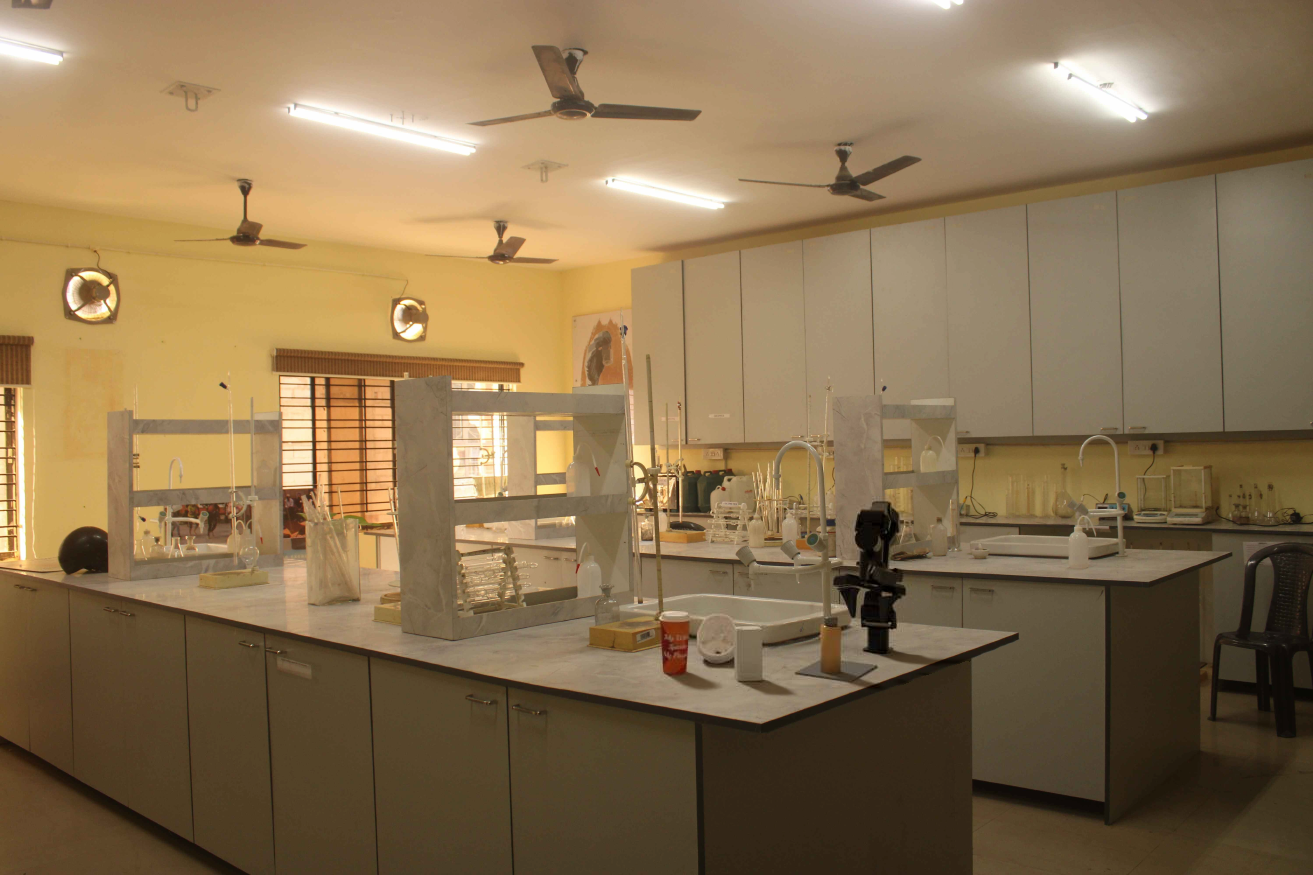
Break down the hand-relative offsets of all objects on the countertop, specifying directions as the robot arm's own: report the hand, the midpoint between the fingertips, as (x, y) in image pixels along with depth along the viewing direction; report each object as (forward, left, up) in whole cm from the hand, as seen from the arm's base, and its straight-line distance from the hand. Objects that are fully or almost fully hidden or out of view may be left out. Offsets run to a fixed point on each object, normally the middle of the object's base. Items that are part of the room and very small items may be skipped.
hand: (868, 620), depth 236 cm
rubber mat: (+8, -5, -11) cm, 15 cm away
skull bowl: (+13, -35, -12) cm, 39 cm away
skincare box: (+28, -19, -11) cm, 36 cm away
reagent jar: (+12, -5, -11) cm, 17 cm away
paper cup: (+31, -37, -11) cm, 50 cm away
